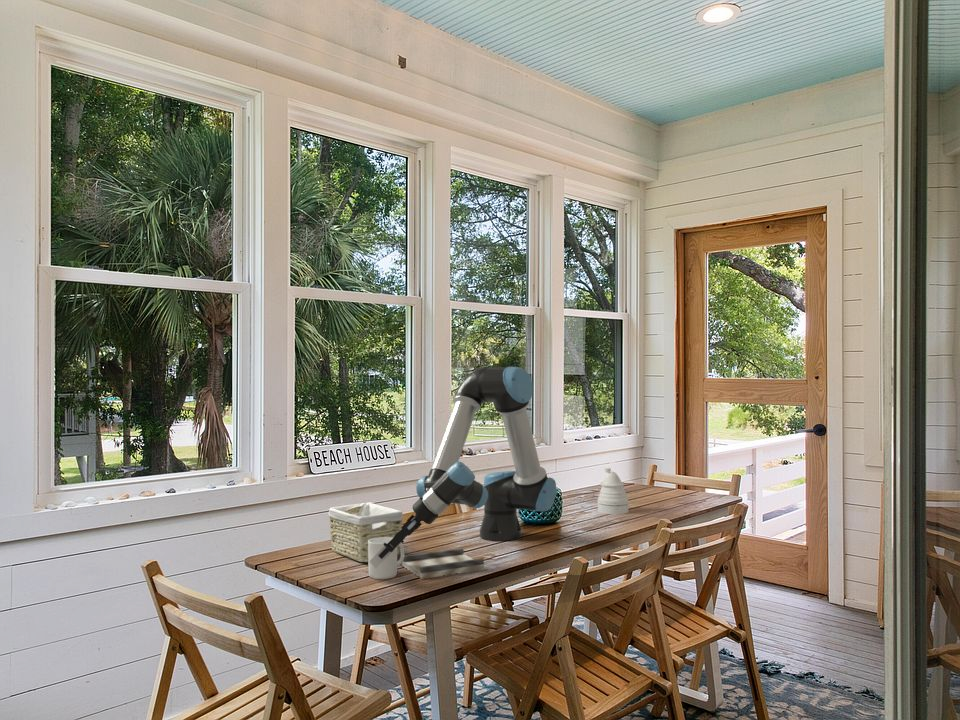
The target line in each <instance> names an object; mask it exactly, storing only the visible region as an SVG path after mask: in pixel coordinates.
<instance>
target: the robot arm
mask: <svg viewBox="0 0 960 720" xmlns="http://www.w3.org/2000/svg"><path fill="white" fill-rule="evenodd" d="M456 389H457V390H456V391H455V392H454V393H455V394H454V396H453V398H452V402H453V407H452V409H451V410H452V411H451V413H450V416H449V418H448V421H447V423H446V427H445V429H444V433H443V435H442V438H441V440H440V443H439V446H438V448H437V451H436V454H435V457H434V459H433V462H432V465H431V468H430V470H429V473H428V475H424V476H421V477H420V478H419V479H418V481H417V483H416V485H415V486H416V494H417V496H418V497H419V499H418V500H417V501H416V502H415V503H413V505H412V510H413V512H414V513H415V515H414V514H411V516H410V517H409V518H407V520H406V522H404V524H403V525H402V527H401V530H400V531H399V532H398V533H397V534H396V535H395V536H394V537H393V539H392V540H391V541H390V542H389V543H387V544H386V543H384V544H383V545H384V547H383V548H382V549H381V550H380V551H379V552H378V553H377V554H376V555H375V556H374V557H373V558H372V559H371V560H370V561H369V562H370V563H371V564H372V565H373V566H374V567H375V568H377V567H378V566H379V564H380V563H381V562H382V561H383V560H384V559H385V558H386V557H387V556H388V555H389V554H390V553H391V552H393V551H394V549H395V548H396V547H397V546H398V545H399V544H400V543H401V542H402V544H404V543H405V541H404V540H405V539H406V538H407V537H408V536H411V535H412V534H413V533H414V532H415V531H417V530H418V529H419V528H420V527H421V526H422V523H421V522H423V523H425V524H426V525H431V524H432V523H433V522H435V520H436V519H437V518H438V517H439V515H442V514H443V513H444V512H445V511H446V509H448V507H450V505H451V504H455V505H465V506H467V507H469V508H472V509H480V508H482V507H483V506H484V511H483V512H484V515H483V519H482V520H481V526H480V529H479V537H480V538H481V539H483V540H487V541H488V540H489V541H494V542H495V541H496V542H497V541H498V542H499V541H501V542H502V541H504V542H505V541H512V540H513V541H514V540H518V539H520V538H521V537H522V535H523V533H522V532H523V531H522V527H521V524H520V521H519V518H518V515H517V510H525V511H536V512H547V511H549V510H551V508H552V506H553V505H554V502H555V499H556V495H557V483H556V479H554V478H553V477H548V475H547V471H546V469H545V468H544V467H543V466H540V465H541V464H540V460H539V455H538V452H537V446H536V443H535V440H534V435H533V431H532V427H531V426H532V425H531V422H530V419H529V415H528V409H527V407H528V405H530V400H531V399H532V397H533V393H534V391H533V389H534V387H533V380H532V378H531V376H530V374H529V372H528V371H527V370H526V369H525V368H523V367H520V366H511V365H510V366H502V367H501V366H500V367H498V366H497V367H496V366H495V367H493V366H492V367H487V366H486V367H485V366H484V367H480V368H479V367H478V368H476V369H475V370H473V371H471V372H470V373H469V374H468V375H467V376H466V377H464V379H463V380H462V382H461V383H460V384H459V386H458V387H457V388H456ZM485 403H493V406H494V409H495V411H496V412H497V413H499V414H500V415H501V419H502V422H503V426H504V429H505V433H506V438H507V442H508V446H509V449H510V453H511V457H512V462H513V465H514V469H515V470H505V471H503V470H502V471H496V472H490V473H487V474H486V475H484V478H483V479H484V481H483V484H482V483H480V482H478V481H477V480H475V479H476V476H475V474H474V472H473V471H472V469H470V468H469V467H468V465H466V464H465V463H463V462H462V461H460V458H461V456H462V453H463V449H464V447H465V444H466V440H467V438H468V435H469V433H470V430H471V427H472V424H473V421H474V419H475V415H476V413H478V412H479V411H480V410H481V408H482V405H483V404H485Z"/></svg>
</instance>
